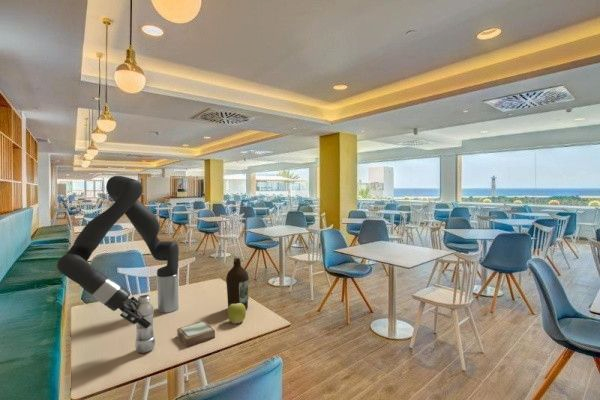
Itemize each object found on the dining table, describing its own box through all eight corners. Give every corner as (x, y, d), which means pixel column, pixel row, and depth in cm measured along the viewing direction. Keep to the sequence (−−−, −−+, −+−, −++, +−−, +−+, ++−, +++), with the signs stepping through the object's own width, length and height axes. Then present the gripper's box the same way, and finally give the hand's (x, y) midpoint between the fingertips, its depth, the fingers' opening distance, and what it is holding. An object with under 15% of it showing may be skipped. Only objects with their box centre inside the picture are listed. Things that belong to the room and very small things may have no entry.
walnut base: (177, 336, 123) (177, 328, 123) (204, 327, 130) (203, 320, 130) (187, 347, 115) (186, 338, 115) (215, 337, 122) (214, 329, 122)
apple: (244, 324, 131) (237, 301, 131) (228, 328, 133) (221, 305, 133) (251, 316, 139) (244, 295, 139) (235, 320, 141) (229, 299, 141)
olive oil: (222, 310, 148) (221, 259, 147) (236, 303, 157) (235, 254, 156) (239, 315, 143) (238, 261, 142) (253, 307, 152) (252, 257, 151)
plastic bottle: (159, 347, 115) (158, 294, 114) (145, 356, 109) (143, 300, 108) (146, 344, 117) (144, 292, 116) (131, 353, 111) (129, 298, 110)
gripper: (115, 292, 102) (155, 322, 107) (124, 280, 116) (159, 306, 120) (97, 310, 101) (138, 339, 105) (108, 295, 114) (144, 322, 119)
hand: (149, 322), depth 113 cm, fingers closed on plastic bottle, 6 cm apart
